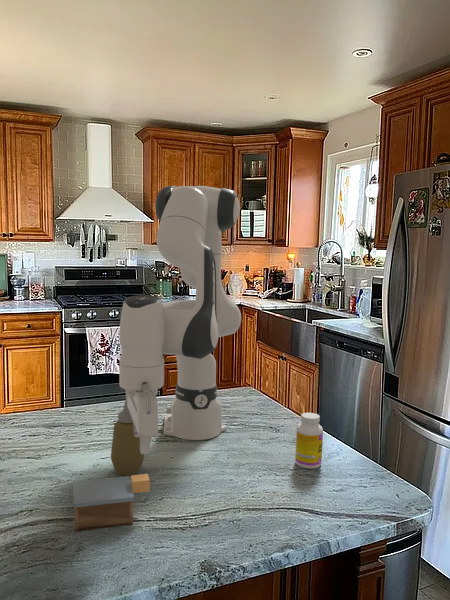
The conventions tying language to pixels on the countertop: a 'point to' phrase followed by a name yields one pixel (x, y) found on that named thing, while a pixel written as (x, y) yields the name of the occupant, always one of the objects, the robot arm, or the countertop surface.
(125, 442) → the squeeze bottle
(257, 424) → the countertop surface
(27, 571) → the countertop surface
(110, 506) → the walnut box
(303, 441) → the supplement bottle
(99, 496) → the lid
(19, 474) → the countertop surface
